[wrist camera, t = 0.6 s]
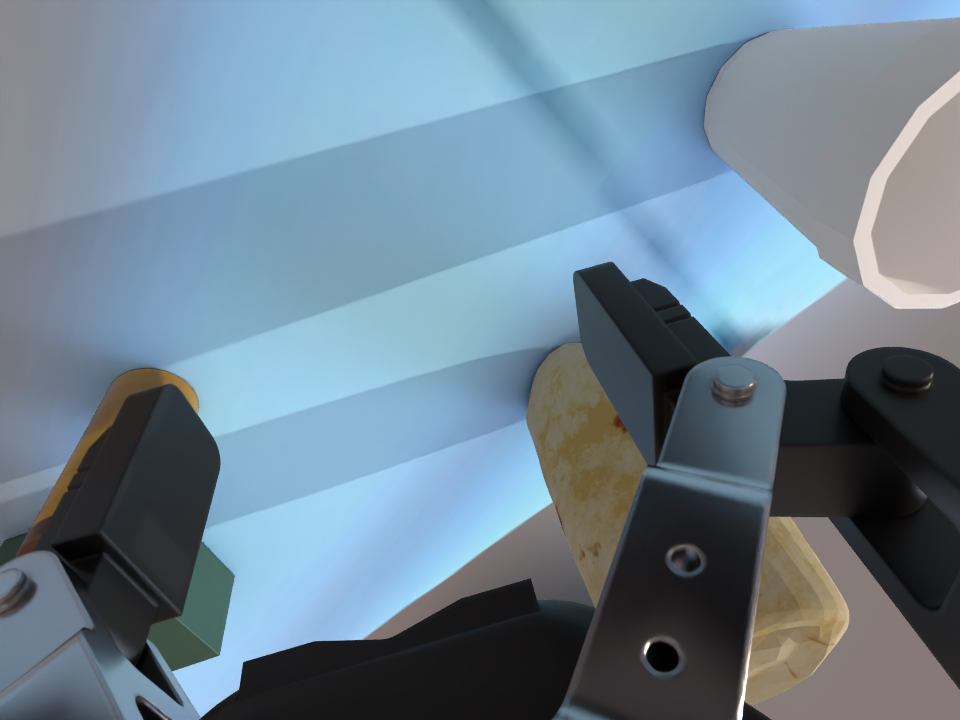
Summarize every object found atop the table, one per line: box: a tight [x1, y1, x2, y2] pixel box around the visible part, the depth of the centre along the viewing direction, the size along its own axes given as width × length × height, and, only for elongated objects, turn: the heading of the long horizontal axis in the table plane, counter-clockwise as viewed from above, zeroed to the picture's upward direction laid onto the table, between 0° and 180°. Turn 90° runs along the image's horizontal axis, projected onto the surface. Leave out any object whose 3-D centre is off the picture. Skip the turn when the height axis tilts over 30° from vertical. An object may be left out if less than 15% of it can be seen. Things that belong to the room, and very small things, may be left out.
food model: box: [526, 343, 849, 706], centre depth 29 cm, size 10×7×20 cm
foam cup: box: [704, 18, 960, 309], centre depth 24 cm, size 10×9×13 cm
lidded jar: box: [16, 369, 199, 558], centre depth 28 cm, size 5×5×11 cm
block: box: [0, 533, 234, 671], centre depth 37 cm, size 10×10×6 cm
